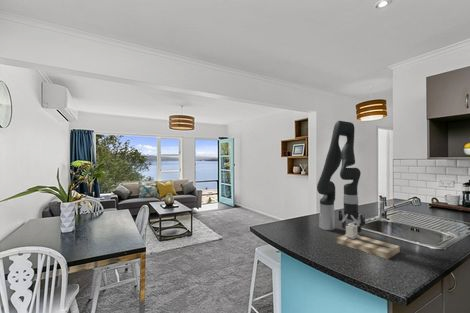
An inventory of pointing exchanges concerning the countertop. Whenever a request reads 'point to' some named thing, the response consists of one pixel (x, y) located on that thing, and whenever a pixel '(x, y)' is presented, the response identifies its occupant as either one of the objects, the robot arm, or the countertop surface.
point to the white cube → (351, 231)
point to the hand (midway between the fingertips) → (351, 230)
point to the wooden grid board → (370, 246)
